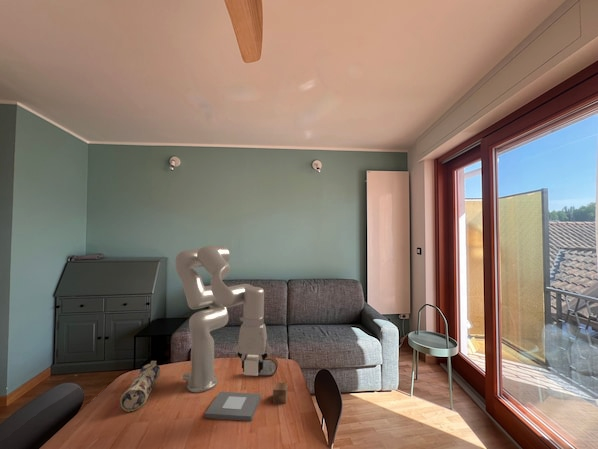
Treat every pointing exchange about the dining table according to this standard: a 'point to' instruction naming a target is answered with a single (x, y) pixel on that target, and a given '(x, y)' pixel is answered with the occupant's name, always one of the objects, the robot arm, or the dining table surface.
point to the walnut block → (280, 392)
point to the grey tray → (233, 406)
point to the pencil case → (140, 387)
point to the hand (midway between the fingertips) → (252, 370)
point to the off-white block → (251, 365)
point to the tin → (269, 366)
